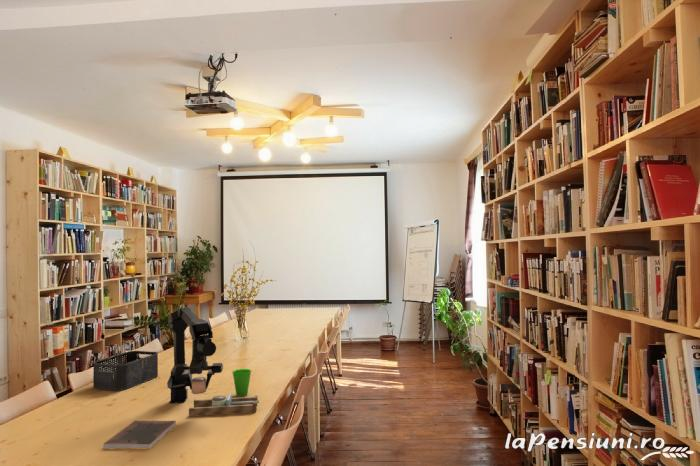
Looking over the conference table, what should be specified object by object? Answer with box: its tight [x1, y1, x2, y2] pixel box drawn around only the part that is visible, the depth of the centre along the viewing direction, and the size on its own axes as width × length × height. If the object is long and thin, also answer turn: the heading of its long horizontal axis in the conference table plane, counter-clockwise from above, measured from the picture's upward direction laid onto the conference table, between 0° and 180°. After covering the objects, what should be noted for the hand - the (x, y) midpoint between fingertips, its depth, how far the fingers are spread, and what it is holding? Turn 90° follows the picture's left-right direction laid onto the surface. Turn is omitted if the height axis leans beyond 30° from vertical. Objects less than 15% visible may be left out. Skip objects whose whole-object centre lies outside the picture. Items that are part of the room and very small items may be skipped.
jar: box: [191, 376, 207, 395], centre depth 189 cm, size 6×6×5 cm
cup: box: [231, 368, 252, 397], centre depth 215 cm, size 9×9×11 cm
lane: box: [188, 395, 259, 417], centre depth 194 cm, size 27×11×4 cm, turn 98°
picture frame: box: [102, 420, 177, 450], centre depth 167 cm, size 16×2×22 cm
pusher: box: [226, 393, 260, 406], centre depth 195 cm, size 13×8×5 cm, turn 98°
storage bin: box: [92, 350, 159, 392], centre depth 238 cm, size 29×19×13 cm
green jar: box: [211, 394, 226, 407], centre depth 194 cm, size 6×6×5 cm
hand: (198, 389), depth 189 cm, fingers closed on jar, 6 cm apart
